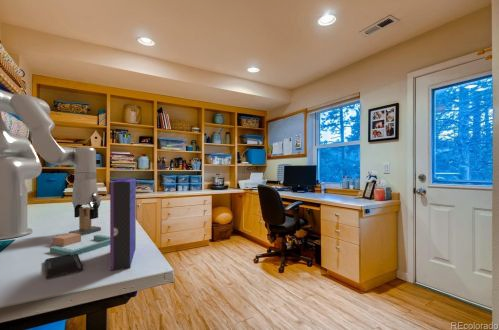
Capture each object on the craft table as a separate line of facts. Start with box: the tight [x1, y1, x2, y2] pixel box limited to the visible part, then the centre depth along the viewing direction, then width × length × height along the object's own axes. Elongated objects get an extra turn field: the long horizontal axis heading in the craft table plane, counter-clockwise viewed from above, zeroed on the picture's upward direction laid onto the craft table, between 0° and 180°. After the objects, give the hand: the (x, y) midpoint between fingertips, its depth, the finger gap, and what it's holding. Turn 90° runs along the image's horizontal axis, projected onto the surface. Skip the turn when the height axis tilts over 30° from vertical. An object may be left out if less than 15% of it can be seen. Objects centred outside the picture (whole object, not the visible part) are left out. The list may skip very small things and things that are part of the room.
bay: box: [49, 234, 110, 256], centre depth 84 cm, size 11×16×2 cm
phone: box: [44, 254, 84, 280], centre depth 68 cm, size 8×1×15 cm
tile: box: [52, 232, 82, 248], centre depth 88 cm, size 6×6×3 cm
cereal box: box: [109, 177, 137, 272], centre depth 74 cm, size 17×5×24 cm, turn 21°
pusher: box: [68, 206, 102, 237], centre depth 101 cm, size 10×5×11 cm, turn 157°
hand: (86, 217), depth 101 cm, fingers open, 9 cm apart
